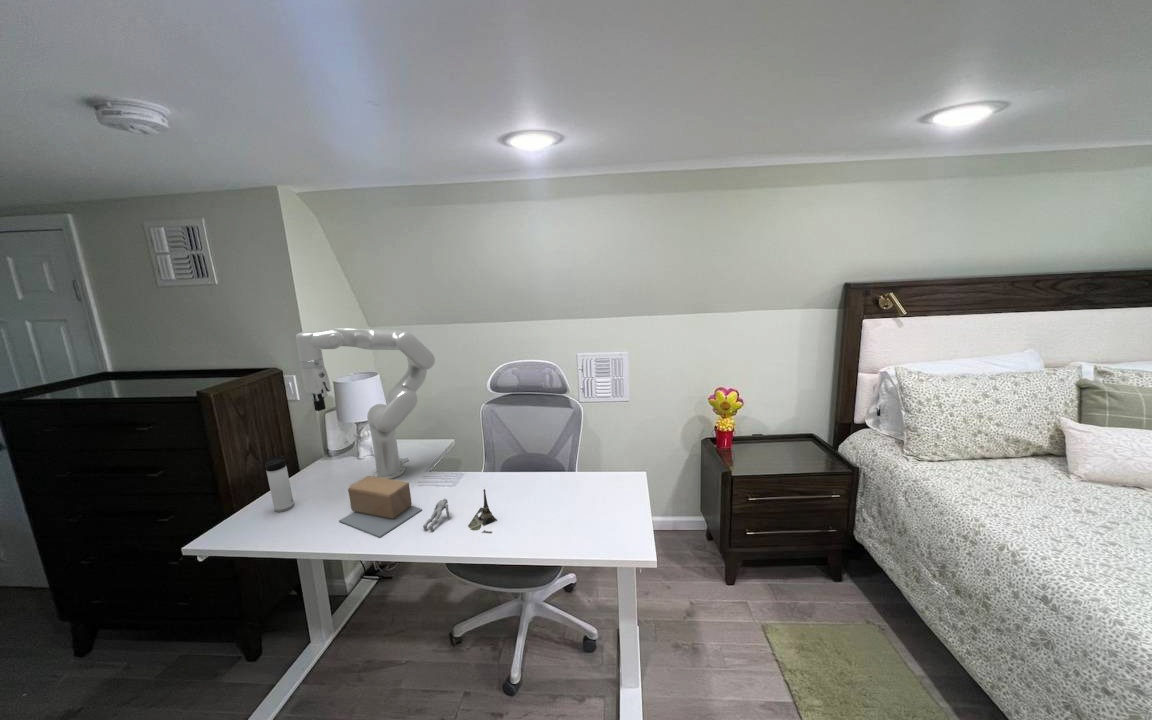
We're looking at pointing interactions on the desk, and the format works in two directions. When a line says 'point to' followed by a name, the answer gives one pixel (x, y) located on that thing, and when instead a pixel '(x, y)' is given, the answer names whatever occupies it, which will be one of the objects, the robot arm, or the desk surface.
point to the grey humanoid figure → (437, 514)
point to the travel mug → (279, 484)
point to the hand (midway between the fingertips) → (320, 409)
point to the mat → (378, 521)
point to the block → (380, 497)
